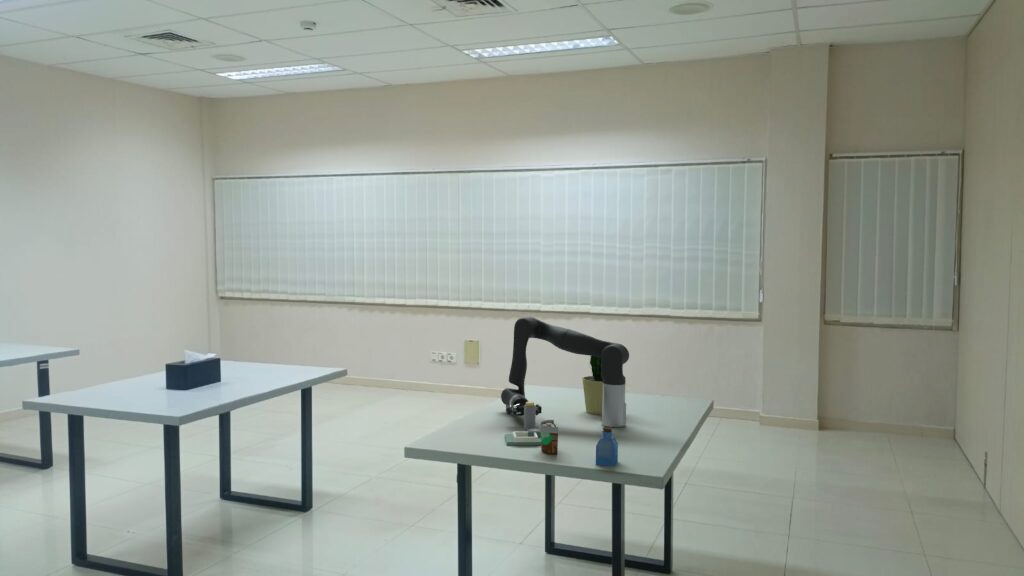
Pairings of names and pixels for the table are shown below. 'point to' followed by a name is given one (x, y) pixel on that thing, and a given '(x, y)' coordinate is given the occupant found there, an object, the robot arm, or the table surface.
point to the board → (524, 438)
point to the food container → (549, 437)
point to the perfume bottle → (607, 449)
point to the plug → (529, 416)
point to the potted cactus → (594, 387)
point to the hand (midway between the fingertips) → (526, 413)
